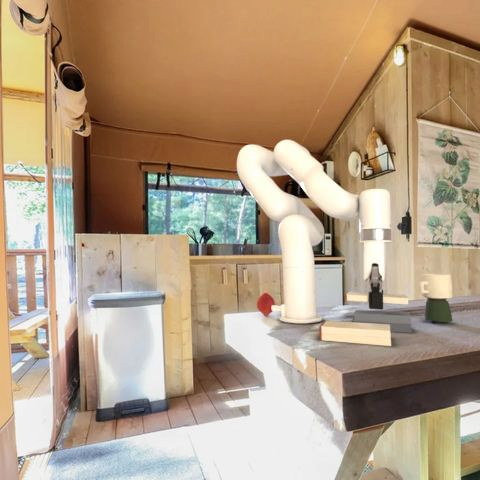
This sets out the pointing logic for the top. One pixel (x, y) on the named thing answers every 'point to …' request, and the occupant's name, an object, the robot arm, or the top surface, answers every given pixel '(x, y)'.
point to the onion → (265, 303)
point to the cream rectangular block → (355, 332)
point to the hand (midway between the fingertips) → (376, 306)
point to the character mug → (437, 296)
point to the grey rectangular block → (385, 319)
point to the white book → (386, 297)
